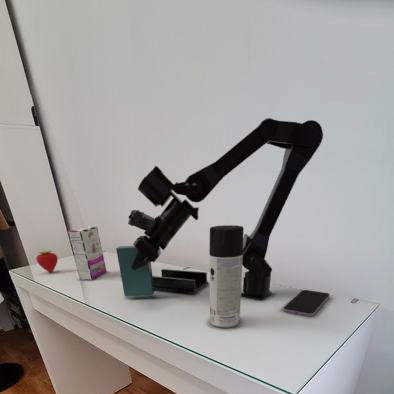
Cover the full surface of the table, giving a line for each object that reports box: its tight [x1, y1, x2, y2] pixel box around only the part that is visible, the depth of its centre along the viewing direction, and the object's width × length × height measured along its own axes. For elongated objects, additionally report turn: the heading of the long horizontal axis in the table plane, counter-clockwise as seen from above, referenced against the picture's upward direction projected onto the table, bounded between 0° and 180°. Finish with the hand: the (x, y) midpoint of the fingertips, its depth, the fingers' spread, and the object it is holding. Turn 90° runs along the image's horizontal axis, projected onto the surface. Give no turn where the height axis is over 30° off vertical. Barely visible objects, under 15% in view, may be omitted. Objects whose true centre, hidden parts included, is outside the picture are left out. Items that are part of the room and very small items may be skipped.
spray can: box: [208, 224, 245, 329], centre depth 59 cm, size 7×7×20 cm
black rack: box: [152, 268, 209, 296], centre depth 88 cm, size 16×11×4 cm
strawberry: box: [36, 248, 58, 274], centre depth 110 cm, size 6×8×10 cm
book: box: [115, 245, 155, 297], centre depth 78 cm, size 3×8×13 cm, turn 87°
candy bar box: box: [67, 225, 108, 281], centre depth 101 cm, size 11×5×16 cm, turn 168°
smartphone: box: [282, 289, 331, 317], centre depth 72 cm, size 7×1×15 cm
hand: (134, 267), depth 77 cm, fingers closed on book, 3 cm apart
